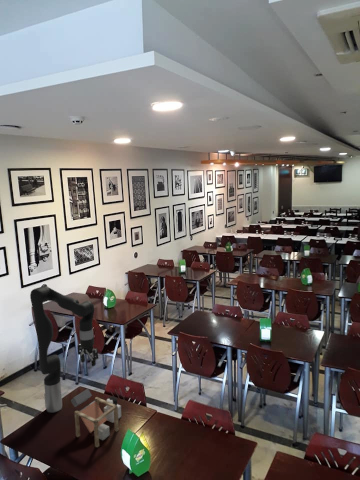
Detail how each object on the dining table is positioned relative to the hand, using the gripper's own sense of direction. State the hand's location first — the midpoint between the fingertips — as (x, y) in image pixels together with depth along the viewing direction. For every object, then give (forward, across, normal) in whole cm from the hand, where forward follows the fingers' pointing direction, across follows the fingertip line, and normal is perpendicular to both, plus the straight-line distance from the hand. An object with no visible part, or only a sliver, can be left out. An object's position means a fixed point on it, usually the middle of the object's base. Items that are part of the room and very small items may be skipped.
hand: (88, 363), depth 206 cm
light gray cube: (+31, +15, -8) cm, 35 cm away
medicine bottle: (+33, +11, +6) cm, 36 cm away
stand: (+33, +13, -8) cm, 37 cm away
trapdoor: (+23, +6, -8) cm, 25 cm away
